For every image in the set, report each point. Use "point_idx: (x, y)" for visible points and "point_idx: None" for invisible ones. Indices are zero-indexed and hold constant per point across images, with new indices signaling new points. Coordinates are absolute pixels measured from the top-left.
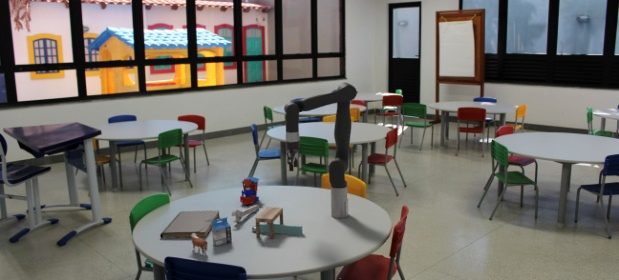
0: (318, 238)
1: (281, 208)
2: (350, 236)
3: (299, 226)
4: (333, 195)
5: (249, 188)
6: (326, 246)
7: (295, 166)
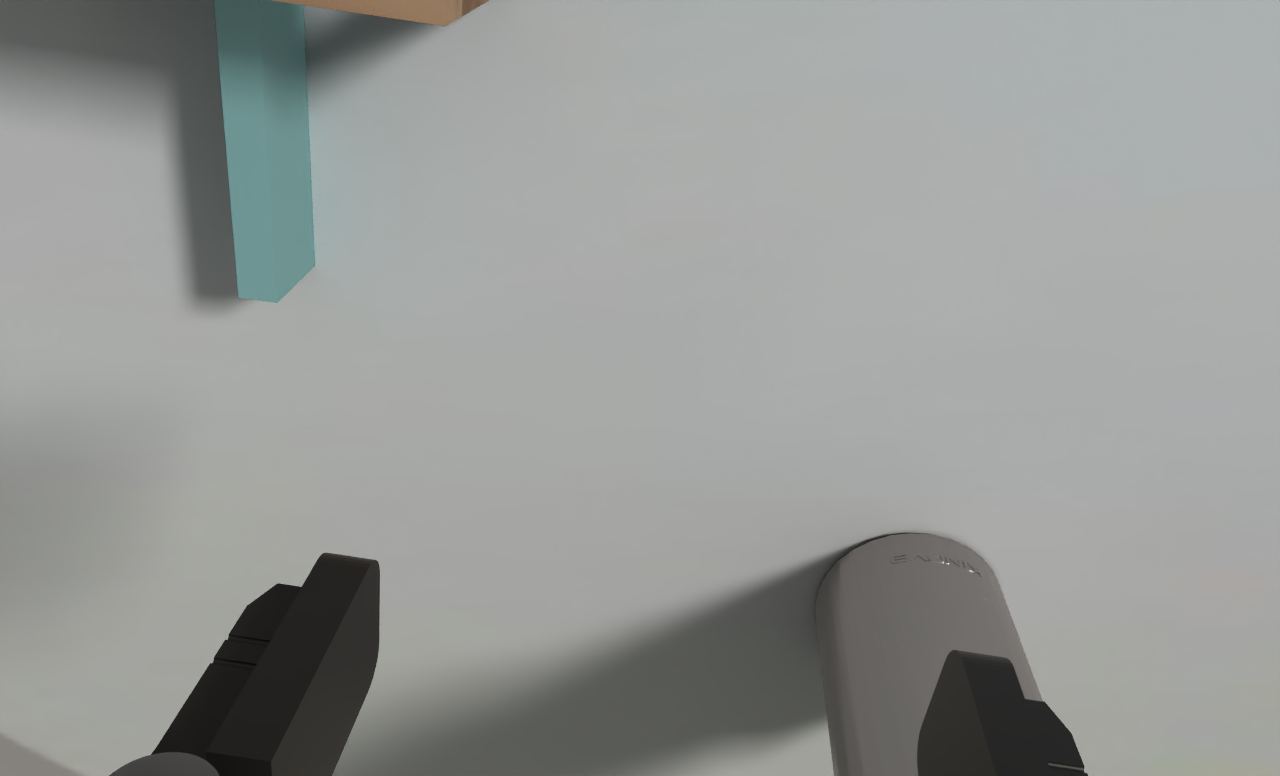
0: (213, 436)
1: (405, 7)
2: None
3: (240, 273)
4: (874, 764)
5: None
6: (46, 511)
7: (941, 712)
